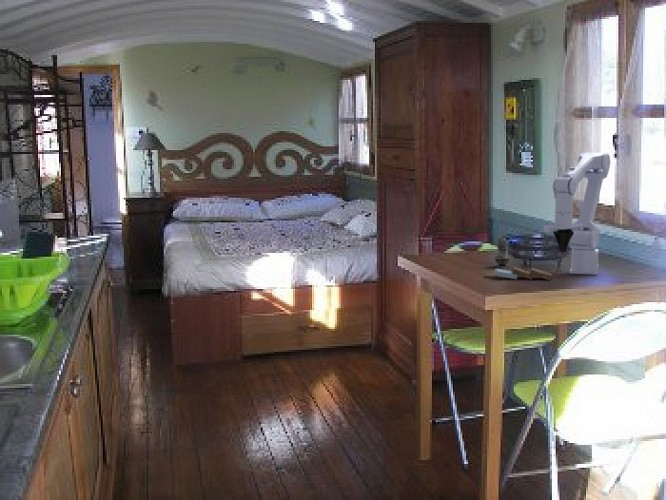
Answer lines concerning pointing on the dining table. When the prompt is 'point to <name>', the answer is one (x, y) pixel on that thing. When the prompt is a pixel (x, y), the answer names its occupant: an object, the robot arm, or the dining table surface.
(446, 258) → the dining table surface
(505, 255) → the salt shaker
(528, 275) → the domino
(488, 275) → the domino
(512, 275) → the domino
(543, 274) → the domino
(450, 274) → the dining table surface
